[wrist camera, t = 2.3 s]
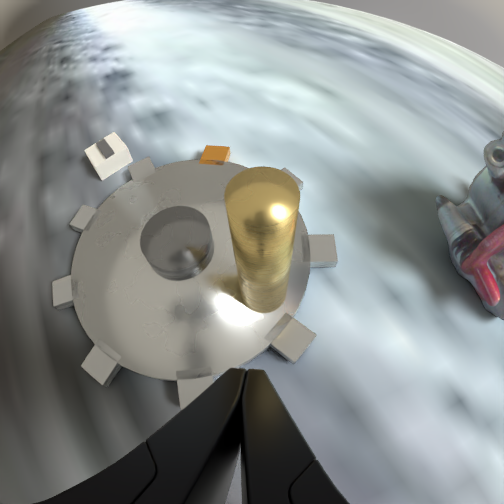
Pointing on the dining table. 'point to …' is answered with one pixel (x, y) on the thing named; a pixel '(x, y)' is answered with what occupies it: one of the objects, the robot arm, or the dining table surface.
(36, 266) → the dining table surface
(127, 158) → the block
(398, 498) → the dining table surface
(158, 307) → the sprocket
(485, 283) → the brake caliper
